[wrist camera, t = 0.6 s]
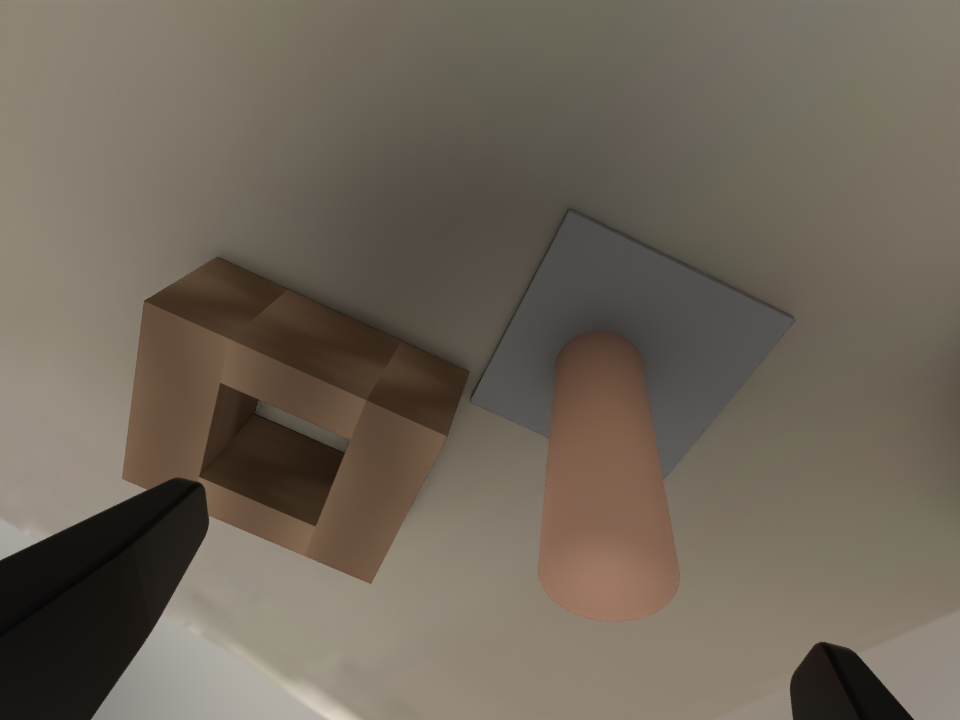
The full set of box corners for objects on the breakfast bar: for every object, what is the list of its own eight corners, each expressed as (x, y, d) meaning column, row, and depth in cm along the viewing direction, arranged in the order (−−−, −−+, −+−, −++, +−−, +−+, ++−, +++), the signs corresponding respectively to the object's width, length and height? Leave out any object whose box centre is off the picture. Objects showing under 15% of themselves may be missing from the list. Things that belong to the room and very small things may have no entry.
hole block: (468, 372, 22) (447, 436, 18) (399, 510, 26) (371, 584, 22) (216, 257, 21) (144, 301, 17) (186, 417, 25) (122, 478, 21)
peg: (659, 354, 20) (708, 561, 12) (614, 418, 21) (632, 638, 13) (580, 317, 20) (578, 503, 12) (541, 384, 21) (515, 588, 13)
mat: (792, 316, 19) (795, 320, 18) (656, 481, 23) (657, 487, 22) (569, 208, 18) (569, 211, 18) (470, 397, 22) (469, 401, 22)
